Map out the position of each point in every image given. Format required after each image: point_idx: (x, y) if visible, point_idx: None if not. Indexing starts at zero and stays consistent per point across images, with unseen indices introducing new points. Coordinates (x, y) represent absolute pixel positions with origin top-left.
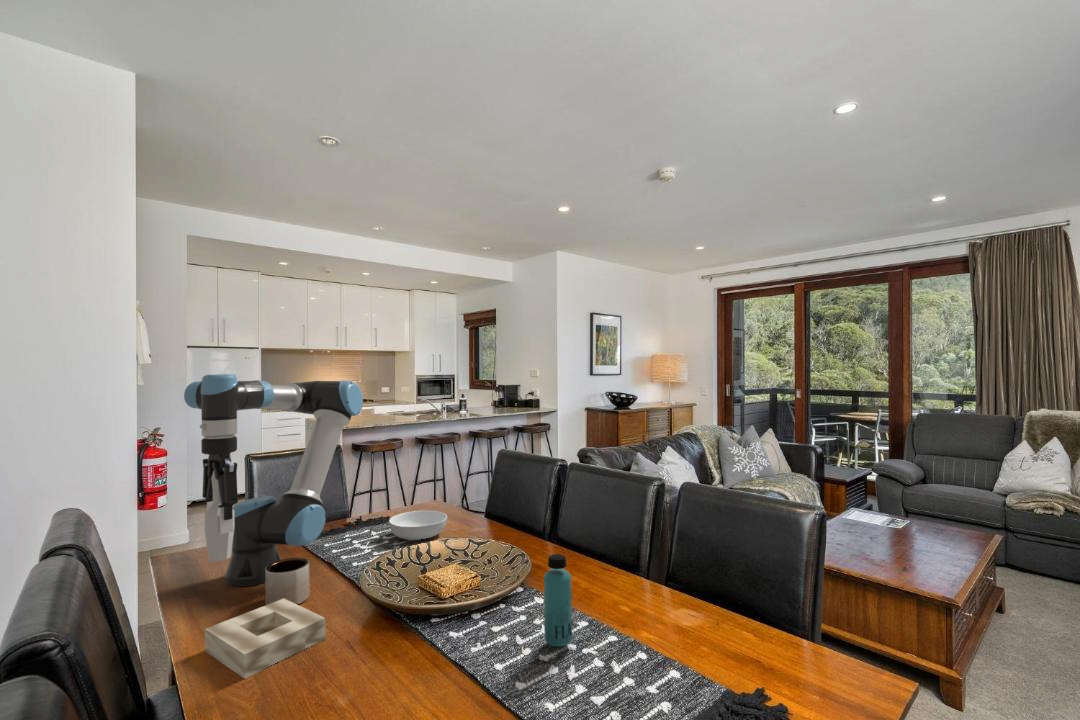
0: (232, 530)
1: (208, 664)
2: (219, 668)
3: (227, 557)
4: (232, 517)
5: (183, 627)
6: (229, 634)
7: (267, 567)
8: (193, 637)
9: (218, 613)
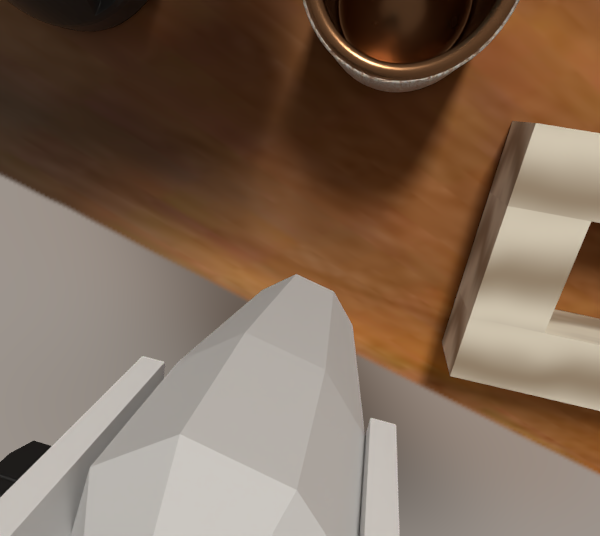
0: (395, 434)
1: None
2: None
3: (348, 322)
4: (396, 533)
5: (260, 282)
6: (559, 376)
7: (335, 44)
8: None
9: (265, 190)
